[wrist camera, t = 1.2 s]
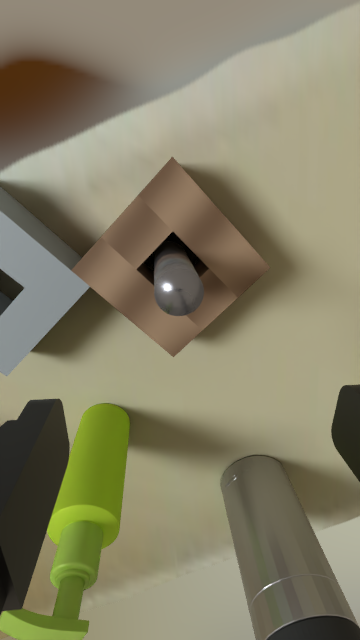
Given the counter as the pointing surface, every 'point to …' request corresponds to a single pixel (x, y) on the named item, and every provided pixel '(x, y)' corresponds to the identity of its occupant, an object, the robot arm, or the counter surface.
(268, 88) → the counter surface
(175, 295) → the steel pin
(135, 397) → the counter surface
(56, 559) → the soap dispenser
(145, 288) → the holder block
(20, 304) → the socket block
